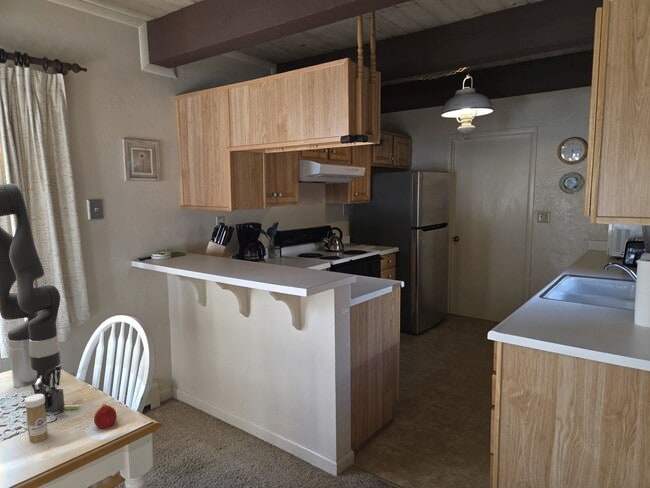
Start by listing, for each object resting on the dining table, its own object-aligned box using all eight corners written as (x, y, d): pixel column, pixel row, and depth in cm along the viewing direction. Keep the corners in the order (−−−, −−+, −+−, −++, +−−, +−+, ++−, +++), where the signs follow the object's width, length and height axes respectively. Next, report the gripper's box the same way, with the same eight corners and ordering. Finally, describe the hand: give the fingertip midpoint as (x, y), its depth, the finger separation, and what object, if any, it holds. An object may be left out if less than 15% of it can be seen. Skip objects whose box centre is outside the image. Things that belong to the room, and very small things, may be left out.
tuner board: (28, 411, 135) (27, 407, 135) (82, 397, 144) (82, 392, 144) (31, 434, 122) (31, 430, 122) (90, 417, 131) (90, 413, 131)
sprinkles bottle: (36, 449, 115) (31, 402, 114) (25, 445, 117) (20, 399, 115) (53, 440, 120) (48, 394, 118) (41, 436, 121) (37, 391, 119)
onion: (122, 425, 126) (120, 400, 125) (106, 436, 121) (104, 410, 120) (106, 422, 128) (104, 397, 127) (90, 433, 123) (88, 406, 122)
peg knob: (33, 411, 132) (31, 393, 131) (38, 407, 134) (36, 389, 133) (76, 410, 132) (75, 392, 132) (80, 406, 135) (79, 388, 134)
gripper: (42, 343, 137) (47, 395, 139) (18, 361, 123) (24, 418, 126) (68, 342, 138) (72, 393, 140) (47, 359, 124) (52, 415, 127)
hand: (50, 404), depth 133 cm, fingers closed on peg knob, 2 cm apart
